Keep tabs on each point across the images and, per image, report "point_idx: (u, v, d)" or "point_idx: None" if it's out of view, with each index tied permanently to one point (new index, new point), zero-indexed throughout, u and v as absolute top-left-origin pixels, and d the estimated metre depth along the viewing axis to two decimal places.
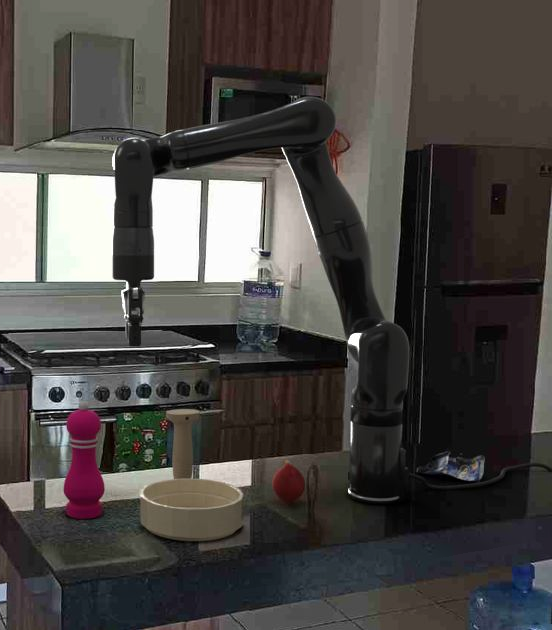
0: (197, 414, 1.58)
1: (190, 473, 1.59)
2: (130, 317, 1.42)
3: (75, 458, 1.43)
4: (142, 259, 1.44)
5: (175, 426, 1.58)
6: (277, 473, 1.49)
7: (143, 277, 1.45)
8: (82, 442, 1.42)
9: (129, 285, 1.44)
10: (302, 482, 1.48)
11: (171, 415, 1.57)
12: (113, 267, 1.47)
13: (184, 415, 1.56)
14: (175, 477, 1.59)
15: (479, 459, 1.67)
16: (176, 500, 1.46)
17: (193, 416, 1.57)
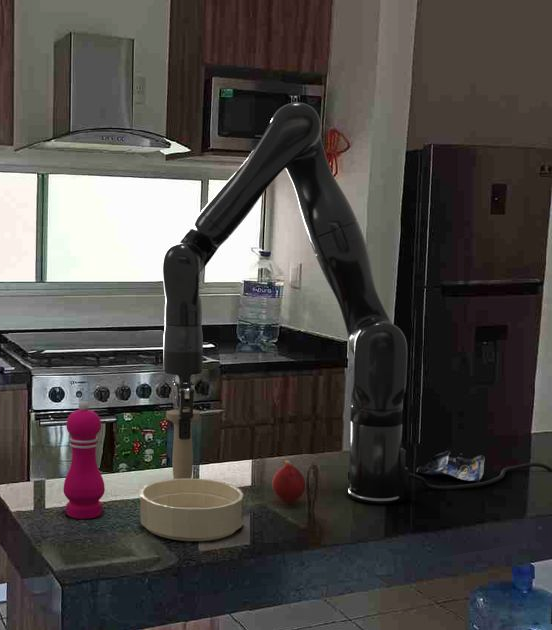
0: (197, 414, 1.58)
1: (190, 473, 1.59)
2: (181, 415, 1.53)
3: (75, 458, 1.43)
4: (192, 355, 1.55)
5: (175, 426, 1.58)
6: (277, 473, 1.49)
7: (193, 372, 1.55)
8: (82, 442, 1.42)
9: (180, 380, 1.55)
10: (302, 482, 1.48)
11: (171, 415, 1.57)
12: (165, 362, 1.57)
13: None
14: (175, 477, 1.59)
15: (479, 459, 1.67)
16: (176, 500, 1.46)
17: (193, 416, 1.57)
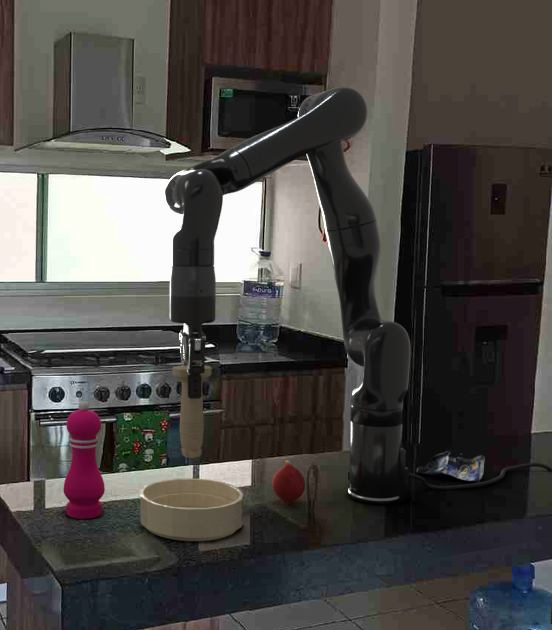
0: (209, 370, 1.36)
1: (200, 438, 1.37)
2: (191, 369, 1.31)
3: (75, 458, 1.43)
4: (204, 301, 1.33)
5: (183, 384, 1.37)
6: (277, 473, 1.49)
7: (205, 320, 1.33)
8: (82, 442, 1.42)
9: (190, 329, 1.33)
10: (302, 482, 1.48)
11: (178, 371, 1.35)
12: (171, 309, 1.35)
13: None
14: (183, 443, 1.37)
15: (479, 459, 1.67)
16: (176, 500, 1.46)
17: (204, 372, 1.35)
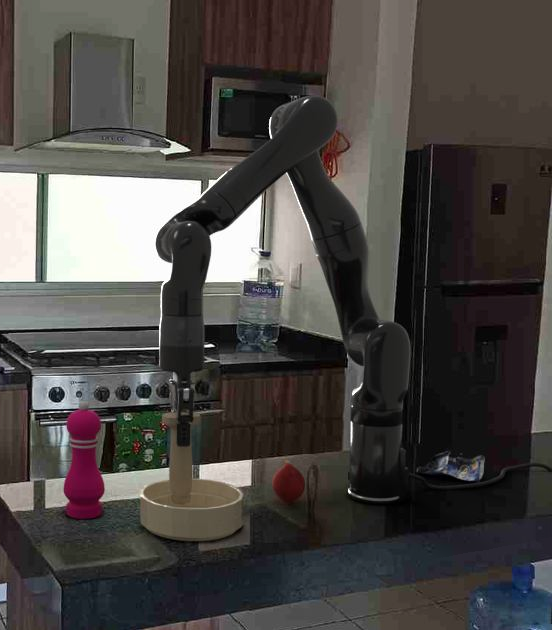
0: (197, 418, 1.37)
1: (189, 485, 1.38)
2: (180, 419, 1.33)
3: (75, 458, 1.43)
4: (193, 350, 1.34)
5: (172, 431, 1.38)
6: (277, 473, 1.49)
7: (193, 369, 1.35)
8: (82, 442, 1.42)
9: (178, 378, 1.34)
10: (302, 482, 1.48)
11: (167, 419, 1.36)
12: (161, 357, 1.37)
13: None
14: (172, 490, 1.39)
15: (479, 459, 1.67)
16: None
17: None
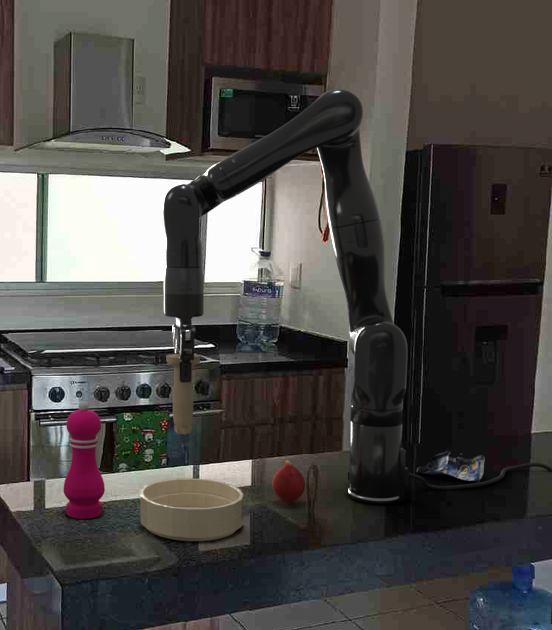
0: (197, 357, 1.57)
1: (190, 417, 1.58)
2: (182, 357, 1.52)
3: (75, 458, 1.43)
4: (193, 297, 1.54)
5: (175, 370, 1.57)
6: (277, 473, 1.49)
7: (194, 314, 1.54)
8: (82, 442, 1.42)
9: (181, 322, 1.54)
10: (302, 482, 1.48)
11: (171, 358, 1.56)
12: (165, 304, 1.56)
13: None
14: (175, 421, 1.58)
15: (479, 459, 1.67)
16: (176, 500, 1.46)
17: (193, 360, 1.56)
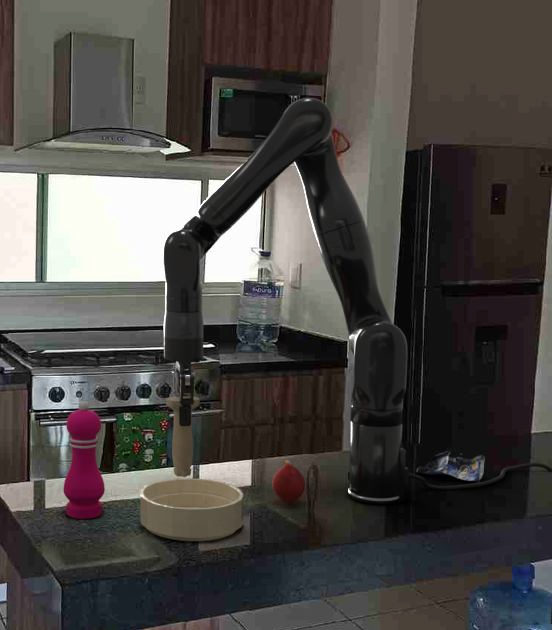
0: (197, 401, 1.58)
1: (190, 460, 1.58)
2: (182, 401, 1.53)
3: (75, 458, 1.43)
4: (193, 342, 1.54)
5: (175, 413, 1.58)
6: (277, 473, 1.49)
7: (194, 359, 1.55)
8: (82, 442, 1.42)
9: (181, 366, 1.54)
10: (302, 482, 1.48)
11: (171, 402, 1.57)
12: (165, 348, 1.57)
13: None
14: (175, 464, 1.59)
15: (479, 459, 1.67)
16: (176, 500, 1.46)
17: (193, 403, 1.57)
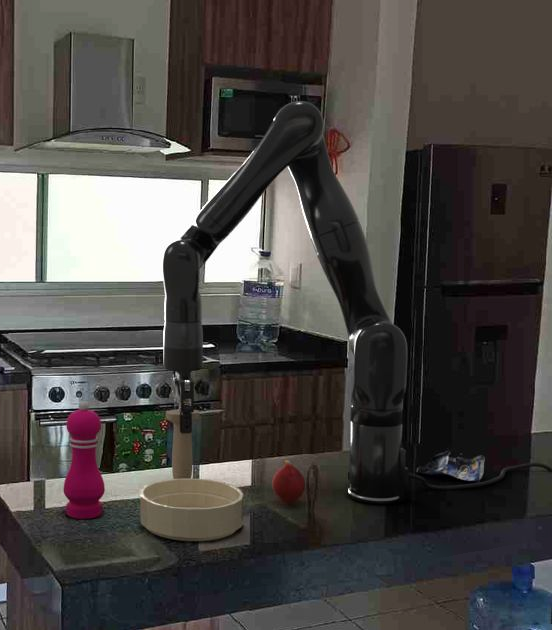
0: (197, 414, 1.58)
1: (190, 473, 1.59)
2: (182, 408, 1.52)
3: (75, 458, 1.43)
4: (192, 352, 1.55)
5: (175, 426, 1.58)
6: (277, 473, 1.49)
7: (193, 368, 1.55)
8: (82, 442, 1.42)
9: (180, 376, 1.55)
10: (302, 482, 1.48)
11: (171, 415, 1.57)
12: (165, 358, 1.57)
13: None
14: (175, 477, 1.59)
15: (479, 459, 1.67)
16: (176, 500, 1.46)
17: (192, 416, 1.57)
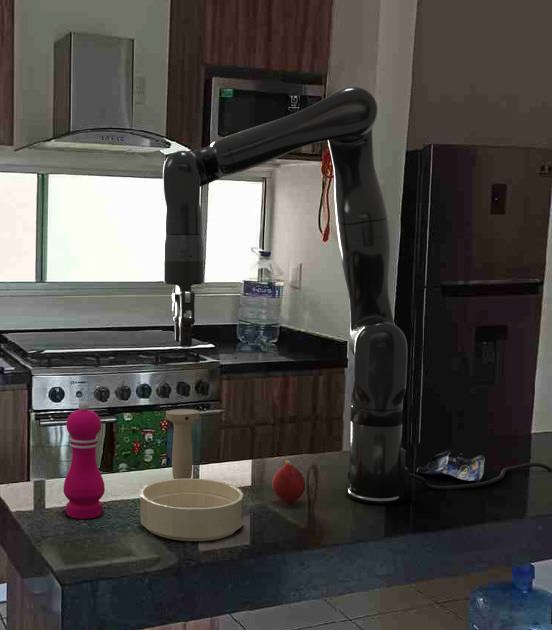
0: (197, 414, 1.58)
1: (190, 473, 1.59)
2: (183, 319, 1.50)
3: (75, 458, 1.43)
4: (193, 265, 1.53)
5: (175, 426, 1.58)
6: (277, 473, 1.49)
7: (194, 282, 1.54)
8: (82, 442, 1.42)
9: (181, 289, 1.53)
10: (302, 482, 1.48)
11: (171, 415, 1.57)
12: (165, 272, 1.55)
13: (184, 415, 1.56)
14: (175, 477, 1.59)
15: (479, 459, 1.67)
16: (176, 500, 1.46)
17: (192, 416, 1.57)
